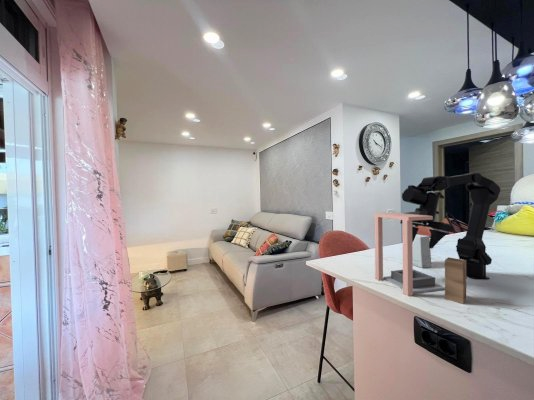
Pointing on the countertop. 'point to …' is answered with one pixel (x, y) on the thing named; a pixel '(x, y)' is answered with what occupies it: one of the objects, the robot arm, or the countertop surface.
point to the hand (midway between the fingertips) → (420, 245)
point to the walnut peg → (455, 280)
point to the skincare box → (421, 251)
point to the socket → (415, 281)
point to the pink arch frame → (407, 245)
